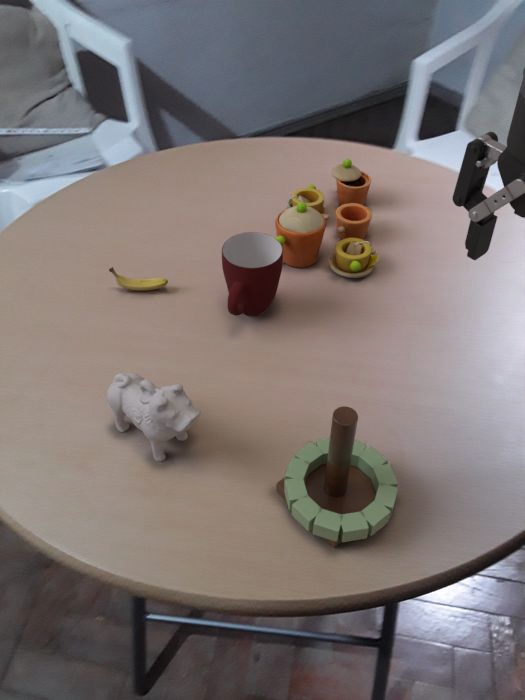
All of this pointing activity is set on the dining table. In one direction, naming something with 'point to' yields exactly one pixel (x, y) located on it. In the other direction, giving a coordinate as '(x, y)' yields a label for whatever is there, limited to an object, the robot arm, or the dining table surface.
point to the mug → (251, 271)
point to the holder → (339, 472)
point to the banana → (139, 282)
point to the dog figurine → (151, 409)
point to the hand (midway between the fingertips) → (518, 278)
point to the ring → (331, 522)
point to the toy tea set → (309, 225)
